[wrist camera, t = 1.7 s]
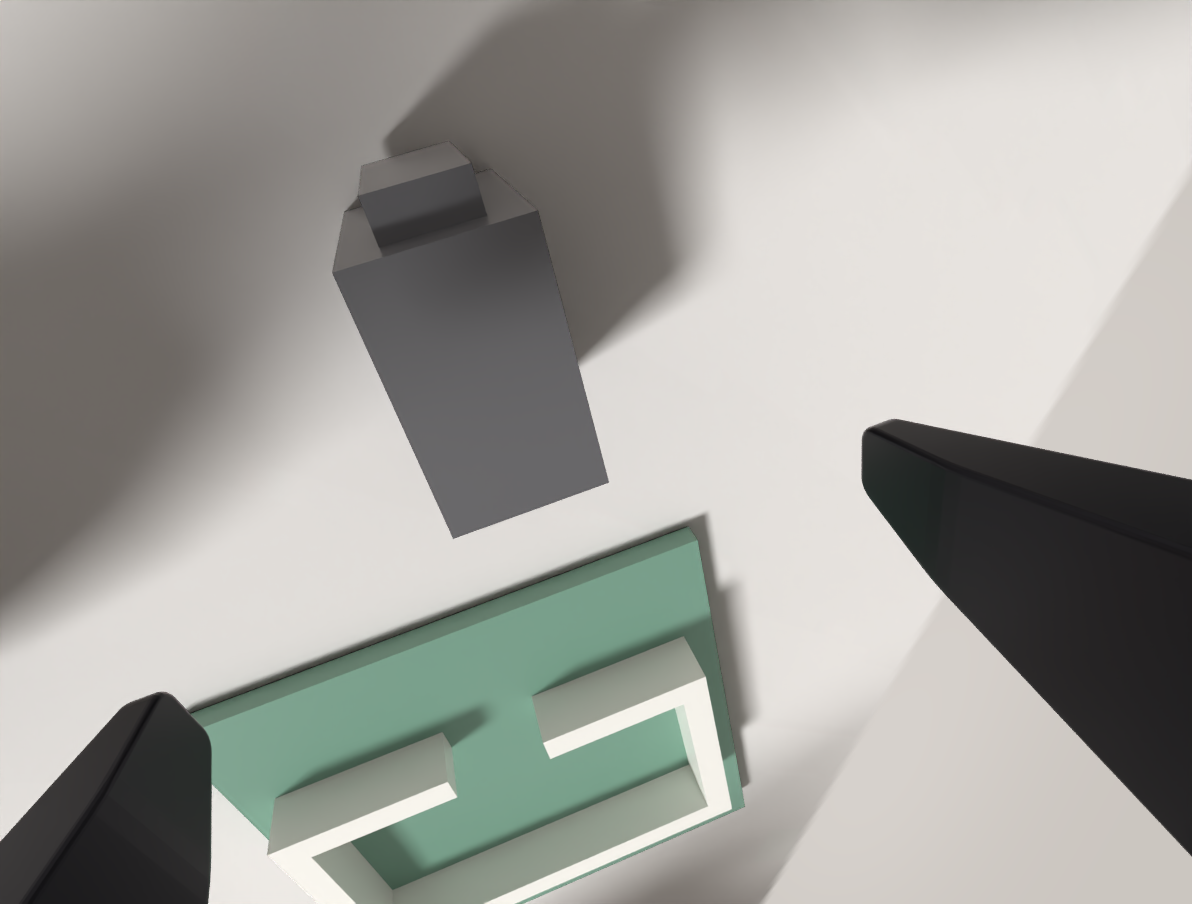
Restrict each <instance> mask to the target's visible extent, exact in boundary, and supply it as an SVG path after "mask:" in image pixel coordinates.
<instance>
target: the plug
mask: <svg viewBox="0 0 1192 904" xmlns="http://www.w3.org/2000/svg"><path fill="white" fill-rule="evenodd" d="M358 197H359V200H360V202H361V205H362V207H359V208H355V209H352V210H349V211H345V212H344V216H343V221H342V226H341V231H340V236H339V241H338V246H337V251H336V256H335V261H334V266H333V271H332V273H333V276H334V278H335V280H336V282H337V284H338V287H339V289H340V291H341V293H342V295H343V298H344V300H345V302H346V304H347V306H348V308H349V311H350V313H351V315H352V317H353V319H354V322H355V324H356V326H357V328H358V330H359V333H360V335H361V337H362V339H363V341H364V344H365V346H366V348H367V350H368V352H369V355H370V357H371V359H372V361H373V363H374V366H375V368H376V370H377V372H378V374H379V377H380V379H381V381H382V383H383V385H384V388H385V390H386V392H387V394H388V396H389V399H390V401H391V403H392V405H393V407H394V410H395V412H396V414H397V416H398V418H399V421H400V423H401V425H402V427H403V429H404V431H405V434H406V436H407V438H408V440H409V442H410V445H411V447H412V449H413V451H414V453H415V456H416V458H417V460H418V462H419V464H420V467H421V469H422V471H423V473H424V475H425V478H426V480H427V482H428V484H429V486H430V489H431V491H432V493H433V495H434V497H435V500H436V502H437V504H438V506H439V508H440V511H441V513H442V515H443V517H444V519H445V522H446V524H447V526H448V528H449V530H450V533H451V535H452V537H453V539H454V538H457V537H460V536H462V535H465V534H468V533H471V532H473V531H476V530H479V529H482V528H484V527H487V526H490V525H493V524H496V523H498V522H501V521H504V520H507V519H509V518H512V517H515V516H518V515H520V514H523V513H526V512H529V511H532V510H534V509H537V508H540V507H543V506H545V505H548V504H551V503H554V502H556V501H559V500H562V499H565V498H567V497H570V496H573V495H576V494H579V493H581V492H584V491H587V490H590V489H592V488H595V487H598V486H601V485H603V484H606V483H609V481H608V477H607V473H606V469H605V466H604V462H603V458H602V454H601V450H600V446H599V443H598V439H597V435H596V431H595V427H594V423H593V420H592V416H591V412H590V408H589V404H588V400H587V397H586V393H585V389H584V385H583V381H582V377H581V374H580V370H579V366H578V362H577V358H576V354H575V351H574V347H573V343H572V339H571V335H570V331H569V328H568V324H567V320H566V316H565V312H564V308H563V305H562V301H561V297H560V293H559V289H558V285H557V282H556V278H555V274H554V270H553V266H552V262H551V259H550V255H549V251H548V247H547V243H546V239H545V236H544V232H543V228H542V224H541V220H540V216H539V213H538V210H537V209H536V208H535V207H534V206H532V205H531V204H530V203H529V202H528V201H527V200H526V199H525V198H523V197H522V196H521V195H520V194H519V193H518V192H517V191H516V190H514V189H513V188H512V187H511V186H510V185H509V184H508V183H507V182H505V181H504V180H503V179H502V178H501V177H500V176H499V175H498V174H496V173H495V172H494V171H493V170H492V169H489V170H485V171H482V172H479V173H474V170H473V167H472V164H471V162H470V161H469V160H468V159H467V158H466V157H465V156H464V155H463V154H462V153H461V152H460V151H459V150H458V149H457V148H456V147H455V146H454V145H453V144H452V143H451V142H450V141H447V142H443V143H440V144H436V145H433V146H429V147H426V148H422V149H419V150H415V151H412V152H408V153H405V154H401V155H398V156H394V157H391V158H387V159H384V160H380V161H377V162H373V163H370V164H366V165H363V166H361V175H360V183H359V191H358Z"/></svg>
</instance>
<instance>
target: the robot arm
mask: <svg viewBox="0 0 1192 904" xmlns="http://www.w3.org/2000/svg"><path fill="white" fill-rule="evenodd" d="M862 483H863V486H864V489H865V491H866V493H867V495H868V496H869V498H870V499H871V500H872V502H873V503H874V504H875V506H876V507H877V508H878V510H879V511H880V512H881V514H882V515H883V516H884V518H885V519H886V520H887V521H888V523H889V524H890V525H891V527H892V528H893V529H894V531H895V532H896V533H897V535H898V536H899V537H900V539H901V540H902V541H903V543H904V544H905V545H906V547H907V548H908V549H909V550H910V552H911V553H912V554H913V556H914V557H915V558H916V560H917V561H918V562H919V564H920V565H921V566H922V568H923V569H924V570H925V571H926V573H927V574H928V575H929V576H930V578H931V579H932V580H933V581H934V582H935V584H936V585H937V586H938V587H939V588H940V589H941V590H942V591H943V592H944V594H945V595H946V596H947V597H948V598H949V599H950V600H951V601H952V602H953V603H954V604H955V605H956V606H957V608H958V609H959V610H960V611H961V612H962V613H963V614H964V615H965V616H966V617H967V618H968V619H969V620H970V621H971V622H972V623H973V624H974V626H976V628H977V629H978V630H979V631H980V632H981V633H982V634H983V635H984V636H985V637H986V638H987V639H988V640H989V642H990V643H991V644H992V645H993V646H994V647H995V648H996V649H997V650H998V651H999V652H1000V653H1001V654H1002V655H1003V656H1004V657H1005V658H1006V660H1007V661H1008V662H1009V663H1010V664H1011V665H1012V666H1013V667H1014V668H1015V669H1016V670H1017V671H1018V672H1019V673H1020V674H1021V676H1022V677H1023V678H1024V679H1025V680H1026V681H1027V682H1028V683H1029V684H1030V685H1031V686H1032V687H1033V688H1034V689H1035V690H1036V691H1037V692H1038V694H1039V695H1040V696H1041V697H1042V698H1043V699H1044V700H1045V701H1046V702H1047V703H1048V704H1049V705H1050V706H1051V707H1052V708H1053V710H1054V711H1055V712H1056V713H1057V714H1058V715H1059V716H1060V717H1061V718H1062V719H1063V720H1064V721H1065V722H1066V723H1067V724H1068V726H1069V727H1070V728H1072V730H1073V731H1074V732H1076V734H1077V735H1078V736H1079V737H1080V738H1081V739H1082V740H1083V741H1084V742H1085V744H1086V745H1087V746H1088V747H1089V748H1090V749H1091V750H1092V751H1093V752H1094V753H1095V754H1096V755H1097V756H1098V757H1099V758H1100V760H1101V761H1102V762H1103V763H1104V764H1105V765H1106V766H1107V767H1108V768H1109V769H1110V770H1111V771H1112V772H1113V773H1114V774H1115V775H1116V777H1117V778H1118V779H1119V780H1120V781H1121V782H1122V783H1123V784H1124V785H1125V786H1126V787H1127V788H1128V789H1129V790H1130V791H1131V792H1132V793H1133V795H1134V796H1135V797H1136V798H1137V799H1138V800H1139V801H1140V802H1141V803H1142V804H1143V805H1144V806H1145V807H1146V808H1147V809H1148V810H1149V812H1151V814H1152V815H1153V816H1154V817H1155V818H1156V819H1157V820H1158V821H1159V822H1160V823H1161V824H1162V825H1163V826H1164V828H1165V829H1166V830H1167V831H1168V832H1169V833H1170V834H1171V835H1172V836H1173V837H1174V838H1175V839H1176V840H1177V841H1178V842H1179V843H1180V845H1181V846H1182V847H1183V848H1184V849H1185V850H1186V851H1187V852H1188V853H1189V854H1190V855H1191V856H1192V480H1191V479H1186V478H1181V477H1176V476H1171V475H1166V474H1162V473H1156V472H1151V471H1147V470H1142V469H1137V468H1132V467H1128V466H1122V465H1118V464H1113V463H1108V462H1103V461H1098V460H1093V459H1088V458H1083V457H1079V456H1074V455H1069V454H1064V453H1059V452H1054V451H1050V450H1045V449H1040V448H1035V447H1030V446H1026V445H1021V444H1016V443H1011V442H1006V441H1001V440H996V439H991V438H987V437H982V436H977V435H972V434H967V433H962V432H957V431H953V430H948V429H943V428H938V427H933V426H928V425H924V424H919V423H914V422H909V421H904V420H899V419H891V420H887V421H885V422H882V423H879V424H877V425H874V426H871V427H869V428H867V429H866V430H865V431H864V433H863V436H862ZM211 798H212V747H211V742H210V739H209V736H208V734H207V732H206V731H205V729H204V728H203V727H202V726H201V725H200V724H199V722H198V721H197V720H196V719H195V718H194V717H193V716H192V715H191V714H190V713H189V712H188V711H187V710H186V709H185V708H184V707H183V705H182V704H181V703H180V702H179V701H178V700H177V699H176V698H175V697H174V696H173V695H171V694H169V693H167V692H156V693H154V694H151V695H148V696H146V697H143V698H140V699H138V700H135V701H132V702H130V703H128V704H126V705H125V706H123V707H122V708H121V709H120V710H119V711H118V712H117V713H116V714H115V715H114V716H113V718H112V719H111V720H110V721H109V722H108V723H107V724H106V725H105V726H104V728H103V729H102V730H101V731H100V732H99V733H98V734H97V735H96V736H95V737H94V739H93V740H92V741H91V742H90V743H89V744H88V745H87V746H86V747H85V749H84V750H83V751H82V752H81V753H80V754H79V755H78V756H77V757H76V758H75V760H74V761H73V762H72V763H71V764H70V765H69V766H68V767H67V768H66V770H65V771H64V772H63V773H62V774H61V775H60V776H59V777H58V778H57V780H56V781H55V782H54V783H53V784H52V785H51V786H50V787H49V788H48V789H47V791H46V792H45V793H44V794H43V795H42V796H41V797H40V798H39V799H38V801H37V802H36V803H35V804H34V805H33V806H32V807H31V808H30V809H29V810H28V812H27V813H26V814H25V815H24V816H23V817H22V818H21V819H20V820H19V822H18V823H17V824H16V825H15V826H14V827H13V828H12V829H11V830H10V831H9V833H8V834H7V835H6V836H5V837H4V838H3V839H2V840H1V841H0V904H208V898H209V887H210V872H211Z"/></svg>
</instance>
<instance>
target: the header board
mask: <svg viewBox="0 0 1192 904" xmlns="http://www.w3.org/2000/svg"><path fill="white" fill-rule="evenodd" d="M191 715H192V716H193V717H194V718H195V719H196V720H197V721H198V722H199V724H200V725H201V726H202V727H203V728H204V729H205V731H206V732H207V734H208V736H209V739H210V742H211V747H212V785H213V786H214V787H215V788H216V789H217V790H218V791H219V792H221V793H222V794H223V795H224V796H225V797H226V798H227V799H228V800H229V801H230V802H231V803H232V804H233V805H234V806H235V807H236V808H237V809H238V810H239V811H240V812H241V813H242V814H243V815H244V816H245V817H246V818H247V819H248V820H249V821H250V822H251V823H252V824H253V825H254V826H255V827H256V828H257V829H258V830H259V831H260V832H261V833H262V834H263V835H264V836H265V837H266V838H267V839H268V840H269V845H268V852H267V856H268V857H269V858H270V859H271V860H272V861H273V862H274V863H275V864H276V865H277V866H279V867H280V868H281V869H282V870H283V871H284V872H285V873H286V874H287V875H288V876H289V877H290V878H291V879H292V880H293V881H294V882H295V883H296V884H297V885H298V886H299V887H300V888H301V889H303V890H304V891H305V892H306V893H307V894H308V895H309V896H310V897H311V898H312V899H313V900H314V901H315V902H316V903H317V904H524V903H526V902H528V901H530V900H533V899H535V898H537V897H540V896H542V895H544V894H546V893H549V892H551V891H553V890H556V889H558V888H560V887H562V886H565V885H567V884H569V883H572V882H574V881H576V880H578V879H581V878H583V877H585V876H588V875H590V874H592V873H594V872H597V871H599V870H601V869H604V868H606V867H608V866H610V865H613V864H615V863H617V862H620V861H622V860H624V859H626V858H629V857H631V856H633V855H636V854H638V853H640V852H642V851H645V850H647V849H649V848H652V847H654V846H656V845H658V844H661V843H663V842H665V841H668V840H670V839H672V838H675V837H677V836H679V835H681V834H684V833H686V832H688V831H691V830H693V829H695V828H697V827H700V826H702V825H704V824H707V823H709V822H711V821H713V820H716V819H718V818H720V817H723V816H725V815H727V814H729V813H732V812H734V811H736V810H739V809H741V808H743V807H745V804H744V799H743V793H742V787H741V782H740V776H739V771H738V765H737V759H736V754H735V748H734V742H733V737H732V731H731V725H730V720H729V714H728V709H727V703H726V697H725V692H724V686H723V680H722V675H721V669H720V664H719V658H718V652H717V647H716V641H715V635H714V630H713V624H712V618H711V613H710V607H709V602H708V596H707V590H706V585H705V579H704V573H703V568H702V562H701V557H700V551H699V545H698V540H697V538H696V537H695V535H694V534H693V533H692V531H691V530H690V528H689V527H686V528H683V529H680V530H678V531H675V532H672V533H670V534H667V535H664V536H662V537H659V538H656V539H654V540H651V541H648V542H646V543H643V544H640V545H638V546H635V547H632V548H630V549H627V550H624V551H622V552H619V553H616V554H614V555H611V556H608V557H606V558H603V559H600V560H598V561H595V562H592V563H590V564H587V565H584V566H582V567H579V568H577V569H574V570H571V571H569V572H566V573H563V574H561V575H558V576H555V577H553V578H550V579H547V580H545V581H542V582H539V583H537V584H534V585H531V586H529V587H526V588H523V589H521V590H518V591H515V592H513V593H510V594H507V595H505V596H502V597H499V598H497V599H494V600H491V601H489V602H486V603H483V604H481V605H478V606H475V607H473V608H470V609H467V610H465V611H462V612H459V613H457V614H454V615H451V616H449V617H446V618H444V619H441V620H438V621H436V622H433V623H430V624H428V625H425V626H422V627H420V628H417V629H414V630H412V631H409V632H406V633H404V634H401V635H398V636H396V637H393V638H390V639H388V640H385V641H382V642H380V643H377V644H374V645H372V646H369V647H366V648H364V649H361V650H358V651H356V652H353V653H350V654H348V655H345V656H342V657H340V658H337V659H334V660H332V661H329V662H326V663H324V664H321V665H318V666H316V667H313V668H310V669H308V670H305V671H303V672H300V673H297V674H295V675H292V676H289V677H287V678H284V679H281V680H279V681H276V682H273V683H271V684H268V685H265V686H263V687H260V688H257V689H255V690H252V691H249V692H247V693H244V694H241V695H239V696H236V697H233V698H231V699H228V700H225V701H223V702H220V703H217V704H215V705H212V706H209V707H207V708H204V709H201V710H199V711H196V712H193V713H191Z"/></svg>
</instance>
